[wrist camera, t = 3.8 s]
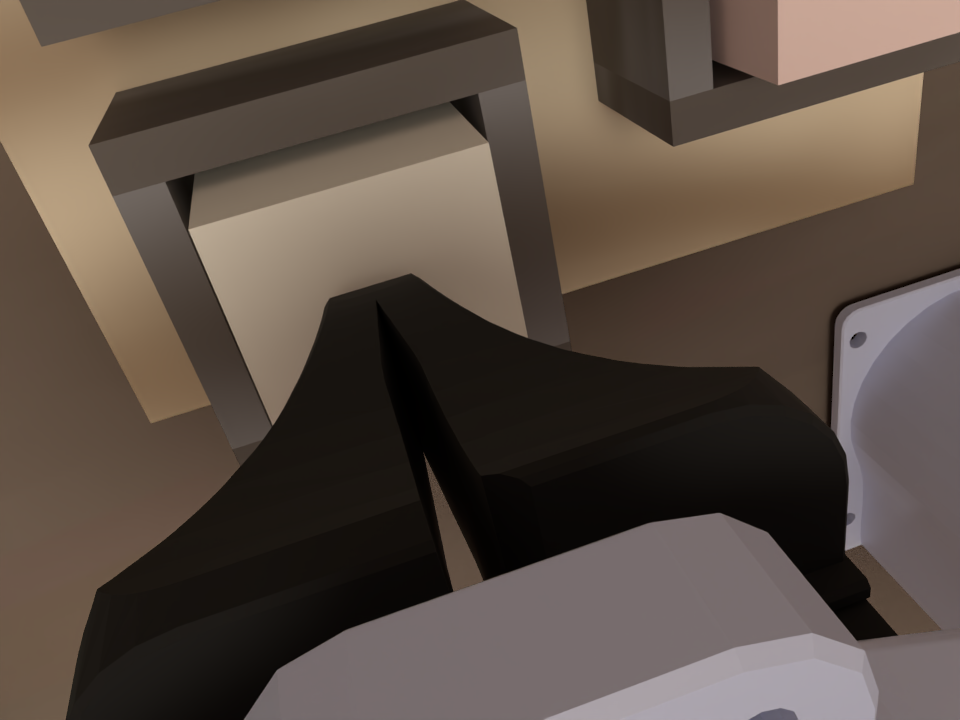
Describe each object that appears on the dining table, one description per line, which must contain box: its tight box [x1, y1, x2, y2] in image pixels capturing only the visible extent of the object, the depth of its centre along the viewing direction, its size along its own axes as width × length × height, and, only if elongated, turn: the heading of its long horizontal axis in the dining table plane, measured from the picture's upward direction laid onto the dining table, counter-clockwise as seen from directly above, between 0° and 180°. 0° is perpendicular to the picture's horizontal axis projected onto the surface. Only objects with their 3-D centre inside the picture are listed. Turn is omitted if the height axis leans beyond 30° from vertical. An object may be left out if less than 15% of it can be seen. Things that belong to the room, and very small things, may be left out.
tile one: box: [188, 102, 528, 425], centre depth 14 cm, size 4×4×3 cm
